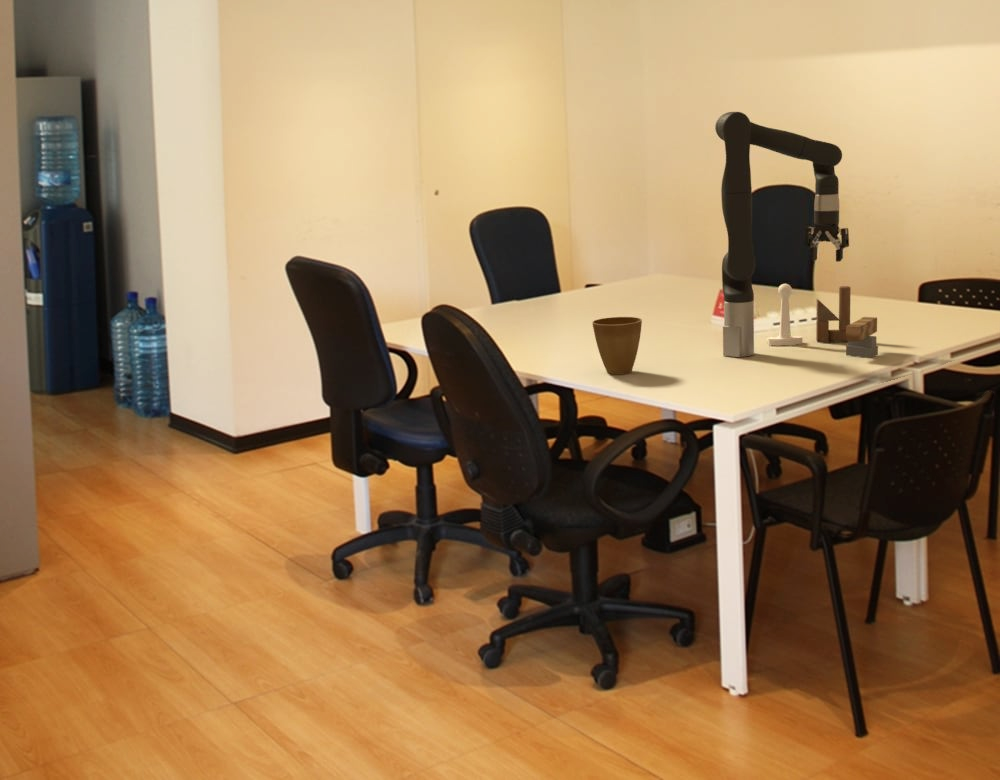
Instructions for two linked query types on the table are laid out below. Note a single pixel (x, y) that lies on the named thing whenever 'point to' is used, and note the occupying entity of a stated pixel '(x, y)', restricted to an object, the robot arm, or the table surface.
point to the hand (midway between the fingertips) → (826, 260)
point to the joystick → (784, 321)
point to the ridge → (863, 347)
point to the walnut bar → (861, 329)
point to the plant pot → (618, 342)
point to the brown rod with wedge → (833, 318)
